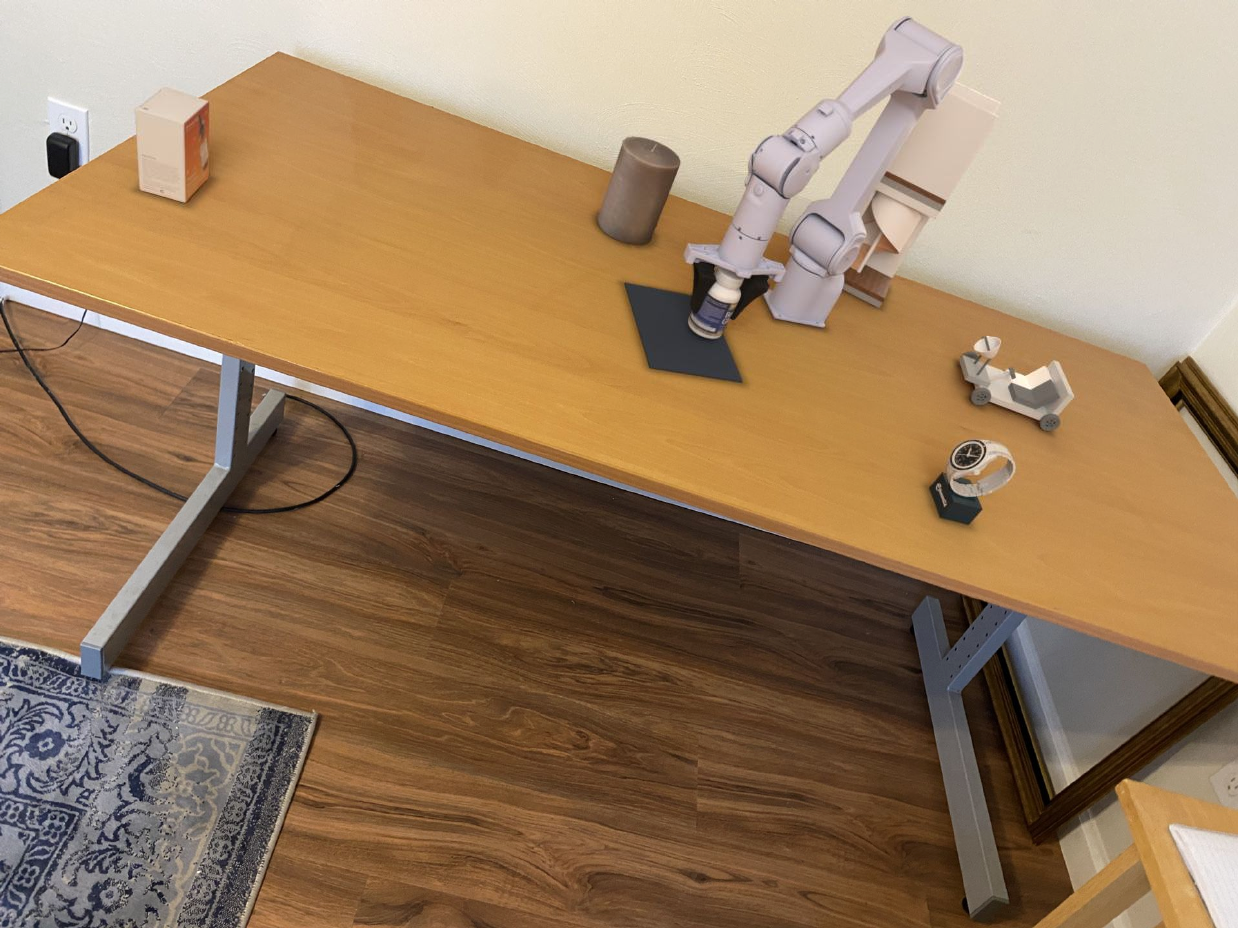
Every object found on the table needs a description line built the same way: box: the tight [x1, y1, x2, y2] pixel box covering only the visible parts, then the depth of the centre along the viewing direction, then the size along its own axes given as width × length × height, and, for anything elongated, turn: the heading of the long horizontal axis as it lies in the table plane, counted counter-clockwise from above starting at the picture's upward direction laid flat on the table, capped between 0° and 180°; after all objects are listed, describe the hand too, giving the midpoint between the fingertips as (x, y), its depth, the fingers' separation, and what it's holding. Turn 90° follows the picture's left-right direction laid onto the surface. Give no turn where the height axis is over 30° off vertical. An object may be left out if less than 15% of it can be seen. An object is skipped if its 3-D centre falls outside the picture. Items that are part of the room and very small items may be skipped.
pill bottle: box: [688, 267, 744, 339], centre depth 119 cm, size 5×5×10 cm
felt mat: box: [624, 281, 744, 384], centre depth 121 cm, size 14×20×1 cm
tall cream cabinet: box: [842, 80, 1002, 309], centre depth 142 cm, size 11×11×35 cm
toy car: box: [958, 335, 1076, 432], centre depth 136 cm, size 18×10×12 cm
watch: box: [928, 438, 1017, 526], centre depth 108 cm, size 6×8×11 cm
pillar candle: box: [597, 135, 681, 246], centre depth 134 cm, size 10×10×15 cm
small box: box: [134, 86, 210, 203], centre depth 104 cm, size 8×6×10 cm
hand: (711, 312), depth 120 cm, fingers closed on pill bottle, 5 cm apart
